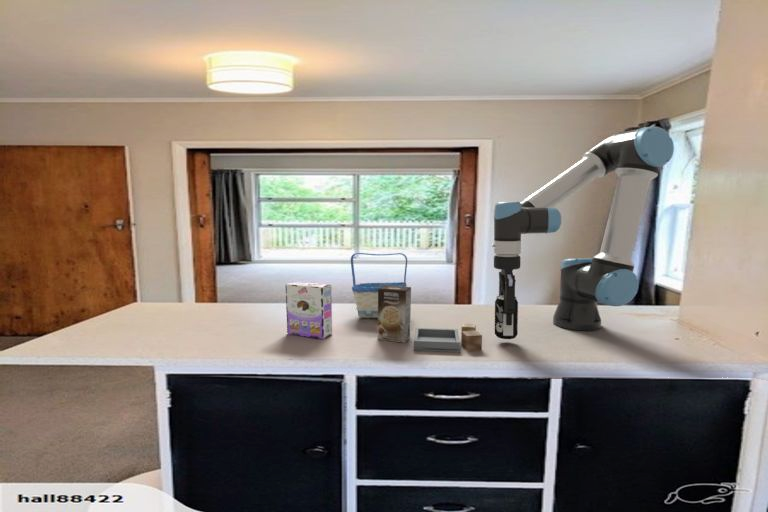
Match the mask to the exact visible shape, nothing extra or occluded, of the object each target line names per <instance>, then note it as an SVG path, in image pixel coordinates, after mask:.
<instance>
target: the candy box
mask: <svg viewBox="0 0 768 512" xmlns="http://www.w3.org/2000/svg"><path fill="white" fill-rule="evenodd" d="M332 301H333V300H332V284H331V283H316V282H308V281H307V282H306V281H296V280H295V281H292V282H288V283H285V305H286V306H285V307H286V309H285V311H286V333H288V334H287V335H290V334H294V335H293V336H297V335H300V336H299V337H304V336H306V337H307V338H311V337H312V338H313V339H319V340H320V339H321V340H323V339H326V338H328V337H330V336H332V335H333V311H332V310H333V307H332V306H333V303H332ZM306 337H305V338H306Z"/></svg>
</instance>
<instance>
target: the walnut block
mask: <svg viewBox="0 0 768 512" xmlns="http://www.w3.org/2000/svg"><path fill="white" fill-rule="evenodd" d="M461 332H462V339H461V341H460V347H462V348H463V349H464V350H465V351H466V352H472V351H473V352H474V351H483V349H482V347H483V334H481V333H480V332H479V331H478V330H476V331H462V330H461Z"/></svg>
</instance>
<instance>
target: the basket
mask: <svg viewBox="0 0 768 512" xmlns="http://www.w3.org/2000/svg"><path fill="white" fill-rule="evenodd" d="M355 255H367V256H368V255H369V256H394V255H396V256H397V255H402V256H403V257H404V258H405V265H404V278H403V281H402V282H395V281H394V282H367V283H366V282H365V283H359V284H358V283H357V282H356V274H355V267H354V266H355V265H354V257H355ZM350 264H351V266H350V267H351V274H352V275H351V276H352V286H351V290H352V294H353V298H354V299H353V300H354V301H355V305H356V310H357V314H358V317H359V319H360V318H361V319H363V318H364V319H365V318H369V319H370V318H371V319H374V318H375V319H376V318H377V319H378V288H380V287H381V286H383V285H393V286H404V287H407V283H406V282H407V281H406V280H407V277H406V276H407V267H408V257H407V255H406V254H404V253H402V252H397V253H368V252H367V253H365V252H356V253H353V254H352V255H351V257H350ZM356 283H357V284H356Z"/></svg>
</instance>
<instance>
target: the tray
mask: <svg viewBox="0 0 768 512" xmlns="http://www.w3.org/2000/svg"><path fill="white" fill-rule="evenodd" d="M459 334H460V333H459V329H457V328H437V327H435V328H431V327H430V328H429V327H415V328H414V337H413V351H417V352H418V351H423V352H449V353H461V339H460V335H459Z"/></svg>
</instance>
